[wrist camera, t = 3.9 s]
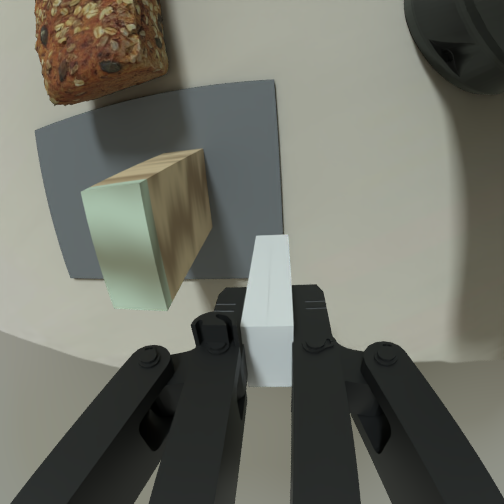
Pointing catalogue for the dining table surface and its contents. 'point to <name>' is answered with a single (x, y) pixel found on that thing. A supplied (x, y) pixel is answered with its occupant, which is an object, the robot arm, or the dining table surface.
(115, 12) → the bread
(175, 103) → the mat
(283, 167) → the dining table surface
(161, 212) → the slab
